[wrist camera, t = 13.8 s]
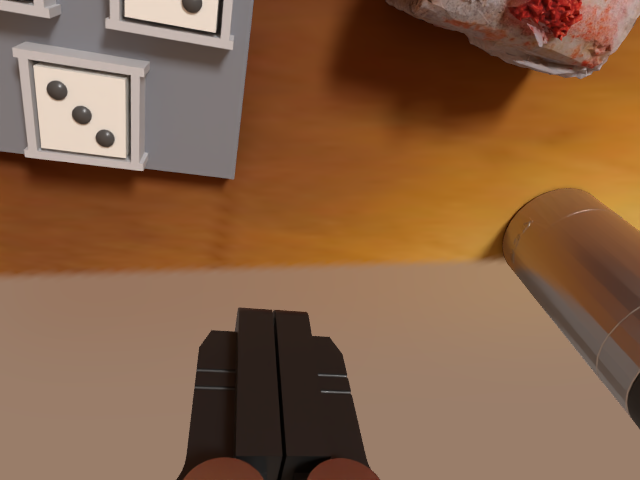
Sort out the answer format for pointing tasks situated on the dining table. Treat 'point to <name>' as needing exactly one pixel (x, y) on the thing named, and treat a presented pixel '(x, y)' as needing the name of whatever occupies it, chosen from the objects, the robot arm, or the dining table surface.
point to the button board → (132, 80)
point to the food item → (536, 29)
